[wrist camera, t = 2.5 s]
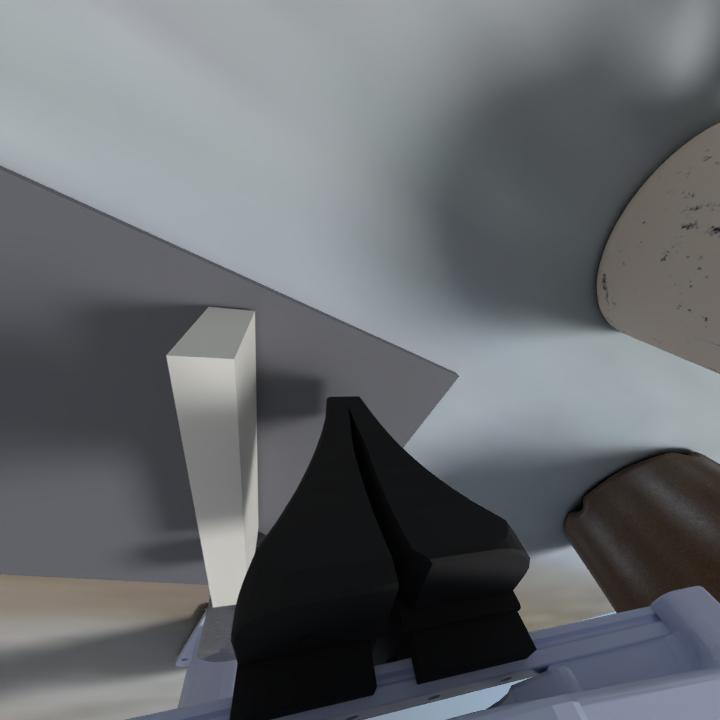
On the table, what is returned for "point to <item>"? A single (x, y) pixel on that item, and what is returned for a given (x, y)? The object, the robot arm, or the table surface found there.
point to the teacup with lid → (670, 257)
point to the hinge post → (219, 629)
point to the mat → (150, 390)
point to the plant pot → (652, 530)
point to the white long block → (220, 440)
